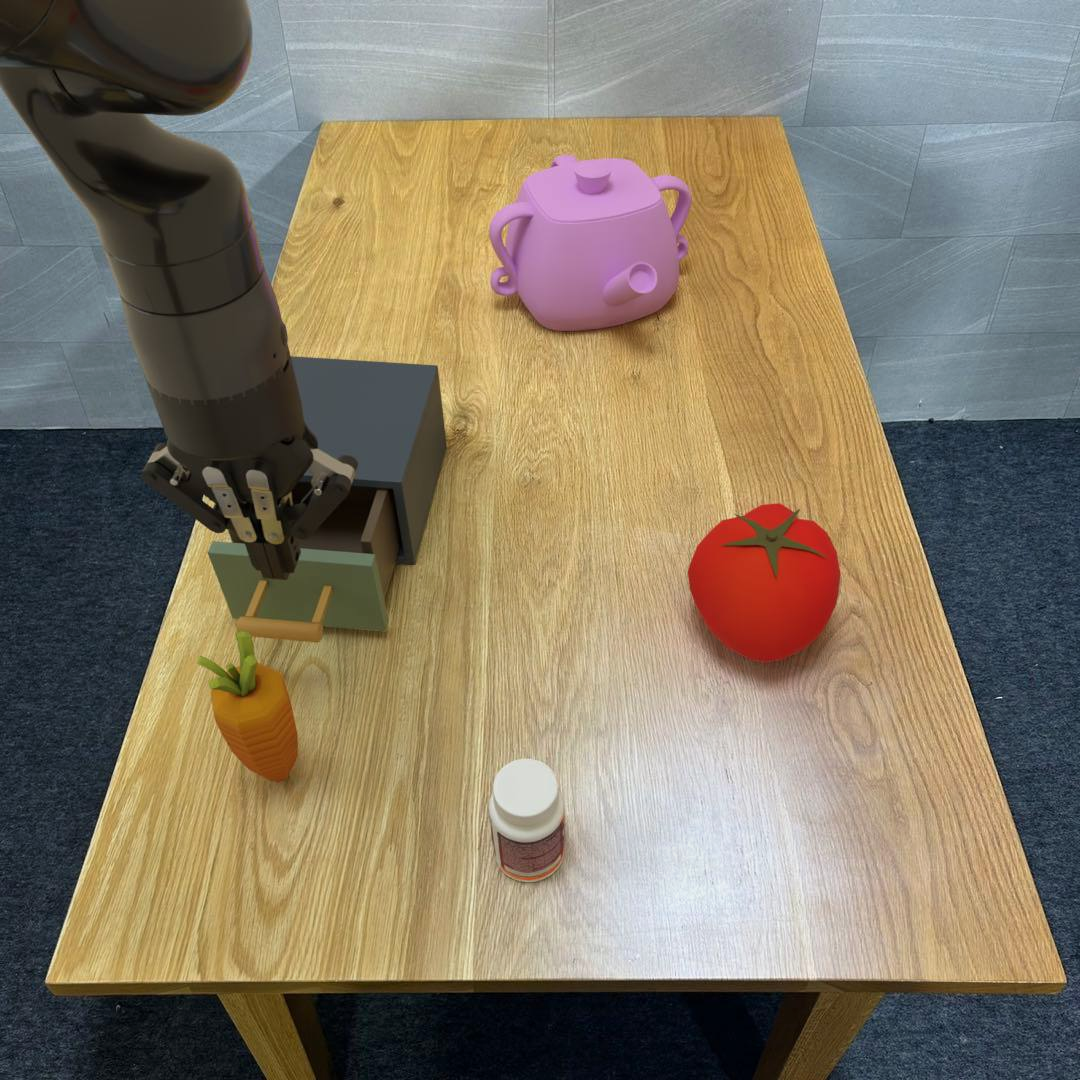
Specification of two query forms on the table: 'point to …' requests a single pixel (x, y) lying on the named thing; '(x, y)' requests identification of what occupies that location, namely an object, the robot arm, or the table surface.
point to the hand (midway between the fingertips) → (280, 569)
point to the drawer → (318, 572)
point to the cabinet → (380, 430)
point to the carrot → (254, 713)
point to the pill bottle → (527, 820)
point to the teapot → (591, 243)
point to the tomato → (765, 582)
